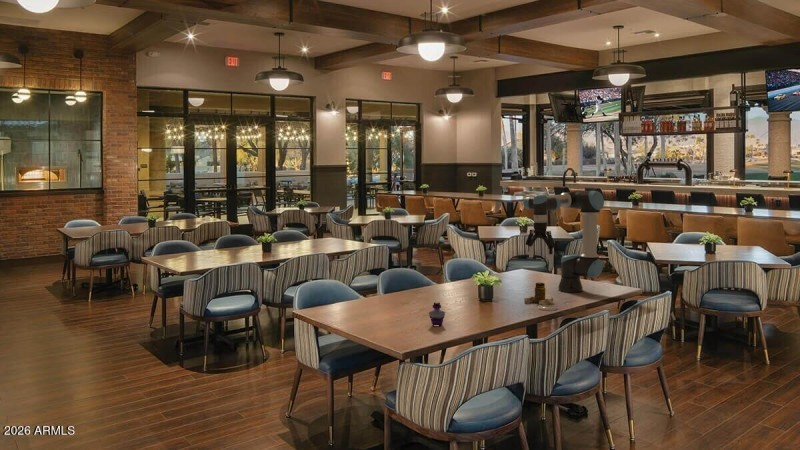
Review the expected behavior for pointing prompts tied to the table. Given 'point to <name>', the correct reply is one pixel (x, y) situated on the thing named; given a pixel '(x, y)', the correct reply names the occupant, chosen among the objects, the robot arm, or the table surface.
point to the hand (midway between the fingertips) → (540, 258)
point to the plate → (547, 307)
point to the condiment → (539, 293)
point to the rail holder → (542, 302)
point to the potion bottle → (437, 314)
